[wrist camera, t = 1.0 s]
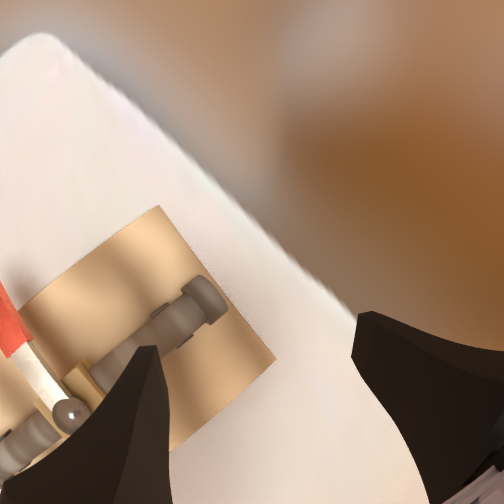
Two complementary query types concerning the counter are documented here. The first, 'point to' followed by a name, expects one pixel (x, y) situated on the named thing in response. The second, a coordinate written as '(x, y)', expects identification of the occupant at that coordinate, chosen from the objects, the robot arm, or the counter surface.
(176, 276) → the valve board
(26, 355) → the valve lever
